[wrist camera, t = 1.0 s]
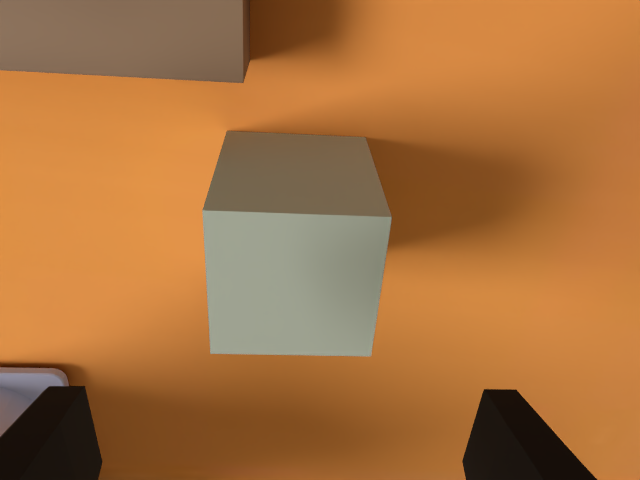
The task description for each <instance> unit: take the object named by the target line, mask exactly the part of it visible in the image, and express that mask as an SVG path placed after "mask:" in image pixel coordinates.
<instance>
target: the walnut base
mask: <svg viewBox="0 0 640 480" xmlns="http://www.w3.org/2000/svg"><path fill="white" fill-rule="evenodd" d="M249 62H250V0H0V70H7V71H26V72H45V73H64V74H83V75H101V76H120V77H139V78H158V79H177V80H196V81H214V82H233V83H243V82H244V79H245V76H246V72H247V69H248V65H249Z"/></svg>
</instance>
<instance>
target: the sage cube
mask: <svg viewBox="0 0 640 480" xmlns="http://www.w3.org/2000/svg"><path fill="white" fill-rule="evenodd" d="M391 220H392V216H391V213H390V210H389V207H388V204H387V201H386V198H385V195H384V192H383V189H382V186H381V183H380V179H379V176H378V173H377V170H376V167H375V164H374V161H373V158H372V155H371V152H370V149H369V146H368V143H367V140H366V137H351V136H329V135H307V134H285V133H263V132H242V131H227V132H226V136H225V139H224V142H223V145H222V149H221V152H220V155H219V158H218V162H217V165H216V168H215V171H214V175H213V178H212V181H211V185H210V188H209V191H208V194H207V198H206V201H205V204H204V207H203V227H204V245H205V263H206V282H207V300H208V318H209V336H210V354H261V355H320V356H371V352H372V346H373V339H374V333H375V326H376V319H377V313H378V306H379V299H380V293H381V286H382V280H383V273H384V266H385V260H386V253H387V246H388V240H389V233H390V227H391Z"/></svg>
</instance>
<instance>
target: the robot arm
mask: <svg viewBox="0 0 640 480" xmlns="http://www.w3.org/2000/svg"><path fill="white" fill-rule="evenodd" d="M101 465H102V459H101V454H100V450H99V446H98V441H97V437H96V433H95V429H94V424H93V420H92V416H91V411H90V407H89V403H88V399H87V394H86V390H85V386H69V383H68V379H67V376H66V374H65V373H64V372H62V371H61V370H59V369H55V368H8V367H0V480H98V477H99V473H100V469H101ZM463 466H464V471H465V476H466V480H597V479H596V478H595V477H594V476H593V475H592V474H591V473H590V472H589V470H588V469H587V468H586V467H585V466H584V465H583V464H582V463H581V462H580V461H579V460H578V458H577V457H576V456H575V455H574V454H573V453H572V452H571V451H570V450H569V448H568V447H567V446H566V445H565V444H564V443H563V442H562V441H561V440H560V438H559V437H558V436H557V435H556V434H555V433H554V432H553V431H552V429H551V428H550V427H549V426H548V425H547V424H546V423H545V422H544V420H543V419H542V418H541V417H540V416H539V415H538V414H537V413H536V411H535V410H534V409H533V408H532V407H531V406H530V405H529V404H528V402H527V401H526V400H525V399H524V398H523V397H522V396H521V395H520V394H519V392H518V391H517V390H493V389H484V391H483V394H482V398H481V401H480V404H479V408H478V411H477V414H476V418H475V421H474V424H473V428H472V431H471V434H470V438H469V441H468V444H467V448H466V451H465V454H464V458H463Z"/></svg>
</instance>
